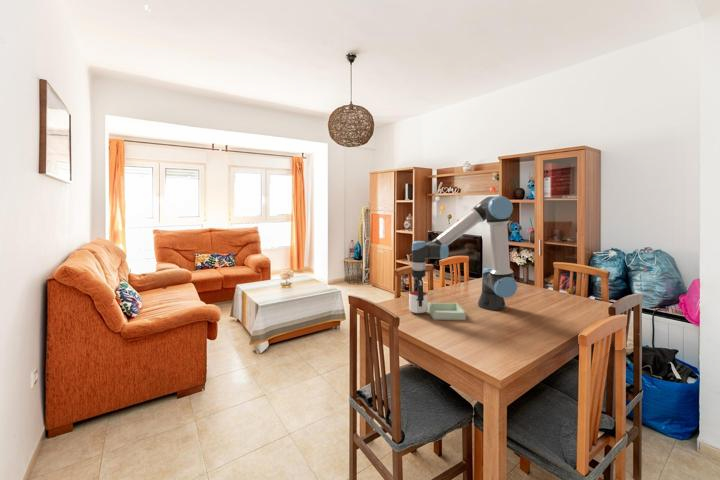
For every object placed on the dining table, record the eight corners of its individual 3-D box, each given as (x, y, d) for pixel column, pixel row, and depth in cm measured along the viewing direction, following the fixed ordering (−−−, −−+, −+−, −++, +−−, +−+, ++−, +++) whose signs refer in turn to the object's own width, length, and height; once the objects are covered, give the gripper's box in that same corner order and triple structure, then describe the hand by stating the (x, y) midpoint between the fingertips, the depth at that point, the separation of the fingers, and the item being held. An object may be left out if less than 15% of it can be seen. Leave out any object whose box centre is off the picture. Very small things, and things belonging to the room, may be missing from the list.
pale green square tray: (456, 309, 187) (456, 302, 186) (465, 320, 171) (465, 311, 170) (427, 309, 187) (427, 302, 186) (433, 319, 171) (434, 311, 170)
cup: (427, 314, 176) (427, 296, 175) (408, 313, 178) (408, 295, 177) (427, 308, 185) (427, 291, 184) (409, 307, 187) (409, 290, 186)
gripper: (408, 265, 190) (408, 302, 193) (415, 273, 168) (414, 315, 170) (421, 265, 190) (421, 302, 193) (429, 273, 168) (429, 315, 170)
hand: (418, 308), depth 181 cm, fingers closed on cup, 10 cm apart
